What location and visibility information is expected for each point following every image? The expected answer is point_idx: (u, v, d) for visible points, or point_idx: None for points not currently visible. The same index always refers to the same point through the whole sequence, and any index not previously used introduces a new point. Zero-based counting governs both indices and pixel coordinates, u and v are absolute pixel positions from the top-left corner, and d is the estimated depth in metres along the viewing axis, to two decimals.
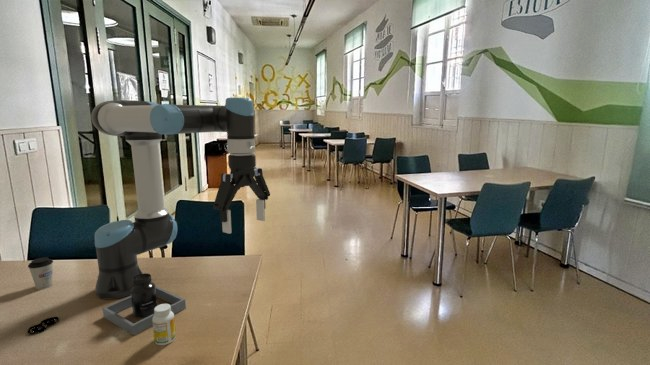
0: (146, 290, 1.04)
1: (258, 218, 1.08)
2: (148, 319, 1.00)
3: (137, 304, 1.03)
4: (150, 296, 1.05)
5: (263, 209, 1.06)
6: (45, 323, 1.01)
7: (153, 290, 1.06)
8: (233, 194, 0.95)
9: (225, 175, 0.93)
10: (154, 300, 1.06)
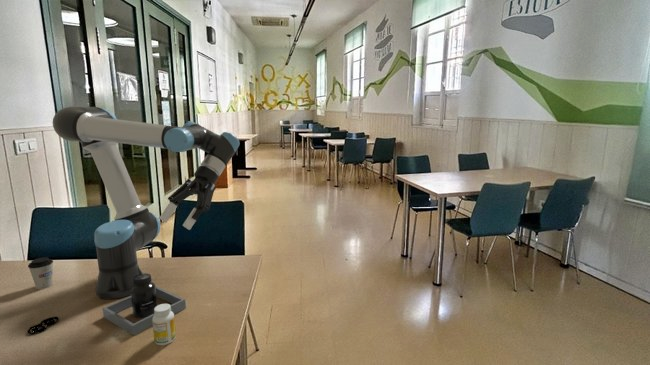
0: (146, 290, 1.04)
1: (162, 218, 1.15)
2: (148, 319, 1.00)
3: (137, 304, 1.03)
4: (150, 296, 1.05)
5: None
6: (45, 323, 1.01)
7: (153, 290, 1.06)
8: None
9: (214, 186, 1.15)
10: (154, 300, 1.06)
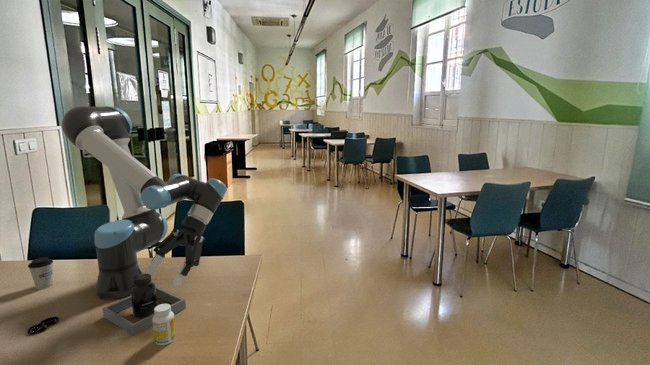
0: (146, 290, 1.04)
1: (149, 272, 1.12)
2: (148, 319, 1.00)
3: (137, 304, 1.03)
4: (150, 296, 1.05)
5: None
6: (45, 323, 1.01)
7: (153, 290, 1.06)
8: None
9: (203, 238, 1.13)
10: (154, 300, 1.06)
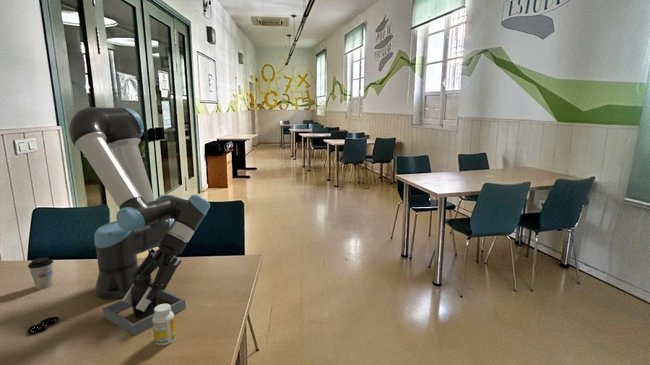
0: (146, 290, 1.04)
1: (126, 300, 1.05)
2: (148, 319, 1.00)
3: (137, 304, 1.03)
4: None
5: None
6: (45, 323, 1.01)
7: None
8: None
9: (179, 261, 1.08)
10: (154, 300, 1.06)
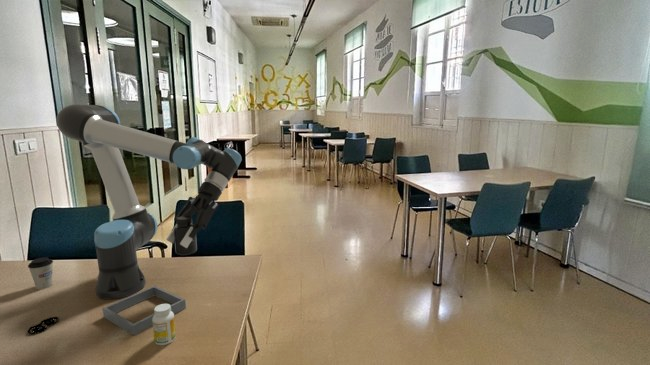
0: None
1: (169, 239, 1.16)
2: (148, 319, 1.00)
3: (180, 242, 1.14)
4: None
5: None
6: (45, 323, 1.01)
7: None
8: None
9: (216, 205, 1.18)
10: (195, 239, 1.17)
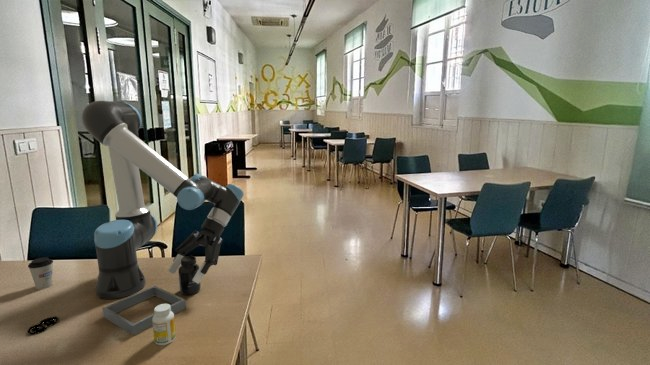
0: (193, 270, 1.17)
1: (171, 270, 1.21)
2: (148, 319, 1.00)
3: (185, 283, 1.17)
4: None
5: None
6: (45, 323, 1.01)
7: None
8: None
9: (221, 239, 1.22)
10: None
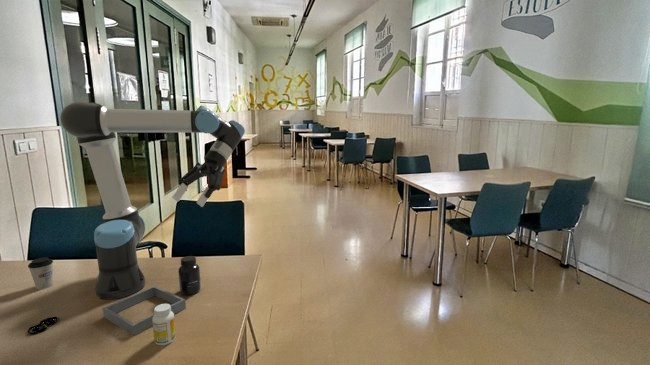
0: (193, 270, 1.17)
1: (175, 197, 1.26)
2: (148, 319, 1.00)
3: (185, 283, 1.17)
4: (195, 275, 1.18)
5: None
6: (45, 323, 1.01)
7: (198, 270, 1.19)
8: None
9: (223, 168, 1.27)
10: (198, 279, 1.19)
